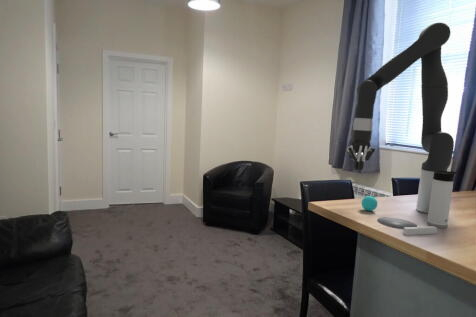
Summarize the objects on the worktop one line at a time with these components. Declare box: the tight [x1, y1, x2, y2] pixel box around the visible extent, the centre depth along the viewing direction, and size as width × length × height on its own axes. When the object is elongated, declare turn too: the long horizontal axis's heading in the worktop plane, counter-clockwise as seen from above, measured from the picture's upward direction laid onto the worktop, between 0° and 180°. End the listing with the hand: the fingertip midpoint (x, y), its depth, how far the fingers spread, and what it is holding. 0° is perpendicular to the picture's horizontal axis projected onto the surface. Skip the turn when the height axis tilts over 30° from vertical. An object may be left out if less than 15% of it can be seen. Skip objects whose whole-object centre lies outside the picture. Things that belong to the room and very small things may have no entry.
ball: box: [361, 195, 378, 212], centre depth 137 cm, size 6×6×6 cm
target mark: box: [377, 216, 418, 230], centre depth 122 cm, size 13×13×1 cm
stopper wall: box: [402, 225, 438, 236], centre depth 112 cm, size 12×2×2 cm, turn 106°
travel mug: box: [426, 170, 457, 229], centre depth 120 cm, size 6×7×20 cm
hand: (358, 170), depth 144 cm, fingers closed
